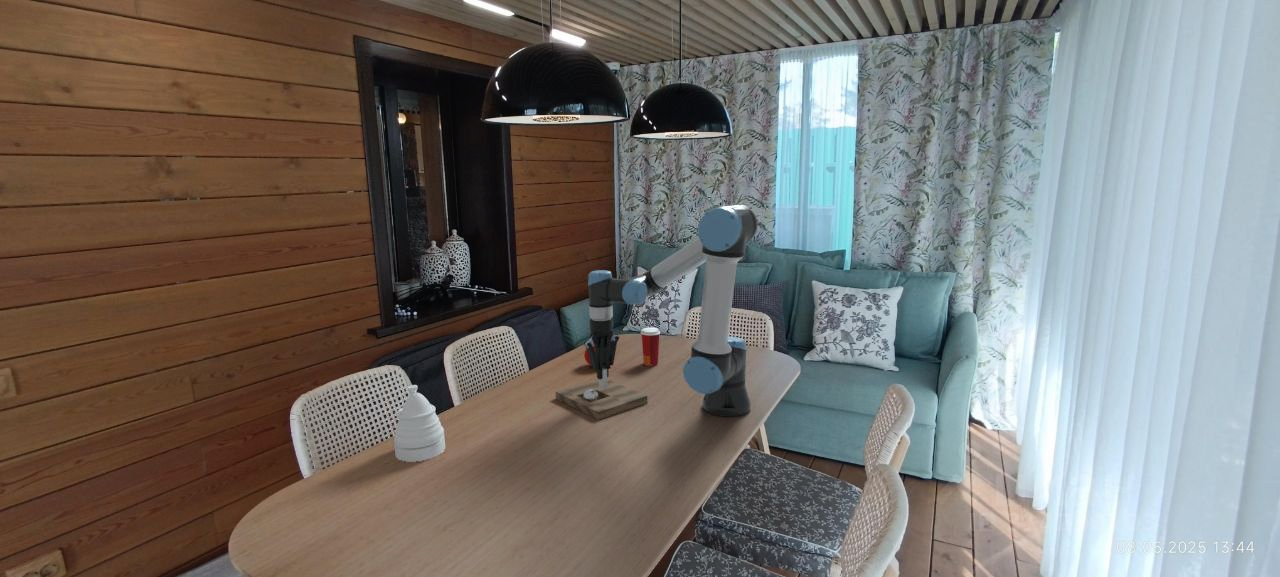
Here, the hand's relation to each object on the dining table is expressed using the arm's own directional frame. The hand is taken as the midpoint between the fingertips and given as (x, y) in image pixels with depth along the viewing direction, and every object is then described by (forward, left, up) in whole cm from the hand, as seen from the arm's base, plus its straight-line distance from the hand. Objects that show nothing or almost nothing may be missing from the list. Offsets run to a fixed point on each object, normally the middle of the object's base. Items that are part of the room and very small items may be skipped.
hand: (603, 387), depth 195 cm
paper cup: (+18, -37, -5) cm, 41 cm away
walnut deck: (0, +1, -4) cm, 5 cm away
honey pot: (+4, +59, -5) cm, 60 cm away
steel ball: (0, +5, -2) cm, 6 cm away
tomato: (+30, -20, -5) cm, 36 cm away
